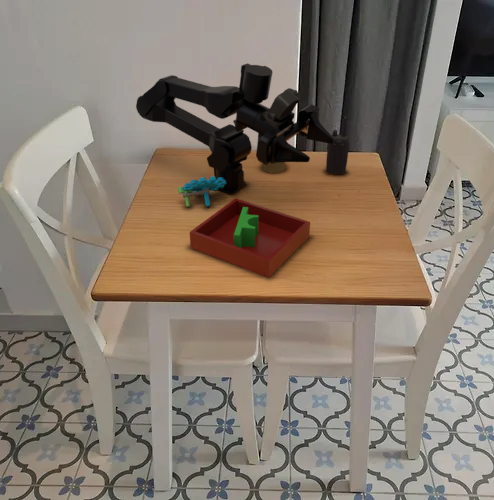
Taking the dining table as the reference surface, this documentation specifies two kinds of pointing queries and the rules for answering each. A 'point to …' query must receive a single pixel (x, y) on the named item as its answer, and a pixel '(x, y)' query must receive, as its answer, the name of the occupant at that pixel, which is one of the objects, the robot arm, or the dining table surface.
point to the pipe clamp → (246, 229)
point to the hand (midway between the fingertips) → (321, 150)
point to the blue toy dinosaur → (201, 188)
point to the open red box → (266, 242)
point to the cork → (274, 167)
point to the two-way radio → (338, 152)
